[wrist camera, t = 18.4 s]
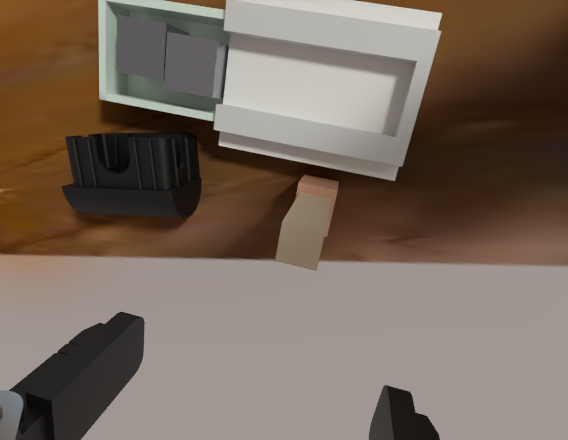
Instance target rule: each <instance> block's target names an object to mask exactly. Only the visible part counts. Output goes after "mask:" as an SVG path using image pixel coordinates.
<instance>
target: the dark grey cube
mask: <svg viewBox="0 0 568 440" xmlns="http://www.w3.org/2000/svg"><path fill="white" fill-rule="evenodd" d="M167 32H171V33H177V34H183V35H189V36H190V34H189V33H187V32H185V31H183V30H181V29H178V28H176V27H174V26H172V25H170V24H168V23H165V22H159V21H153V20H147V19H141V18H134V17H128V16H122V15H117V54H116V72H120V73H126V74H131V75H137V76H142V77H148V78H153V79H159V80H164V78H165V60H166V43H167Z"/></svg>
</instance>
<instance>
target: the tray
mask: <svg viewBox="0 0 568 440" xmlns="http://www.w3.org/2000/svg"><path fill="white" fill-rule="evenodd" d="M225 11H226V10H222V9H215V8H209V7H202V6H195V5H189V4H182V3H176V2H169V1H163V0H99V99H101V100H106V101H111V102H116V103H121V104H126V105H132V106H137V107H142V108H147V109H152V110H157V111H163V112H168V113H173V114H178V115H183V116H188V117H194V118H199V119H204V120H209V121H214V122H215V111H216V104H223V99H218V98H210V97H205V96H199V95H194V94H189V93H184V92H179V91H174V90H168V89H164V80H159V79H153V78H148V77H142V76H137V75H131V74H126V73H120V72H116V54H117V15H122V16H128V17H134V18H141V19H147V20H153V21H159V22H165V23H168V24H170V25H172V26H174V27H176V28H178V29H181V30H183V31H185V32H187V33H189V34H190V36H194V37H200V38H206V39H212V40H217V41H220V42H222V43H224V44H225V45H227V46H229V41H230V34H229V33H227V32H226V31H224V21H225Z"/></svg>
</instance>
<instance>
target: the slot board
mask: <svg viewBox="0 0 568 440" xmlns="http://www.w3.org/2000/svg"><path fill="white" fill-rule="evenodd" d="M441 16H442V13H437V12H430V11H423V10H416V9H409V8H402V7H395V6H388V5H381V4H374V3H367V2H360V1H353V0H227V1H226V11H225V21H224V31H226V32H227V33H229V34H230V41H229V51H228V60H227V70H226V79H225V89H224V98H223V104H216V111H215V122H214V130H217V131H220V136H219V146H223V147H228V148H233V149H238V150H243V151H248V152H253V153H258V154H263V155H268V156H273V157H278V158H283V159H288V160H293V161H298V162H303V163H308V164H313V165H318V166H323V167H328V168H332V169H337V170H342V171H347V172H352V173H357V174H362V175H367V176H372V177H377V178H382V179H387V180H392V181H395V178H396V175H397V171H398V168H399V166H400V167H402V166H403V163H404V159H405V156H406V152H407V149H408V145H409V142H410V138H411V135H412V131H413V128H414V124H415V121H416V117H417V114H418V110H419V107H420V103H421V100H422V96H423V93H424V89H425V86H426V83H427V79H428V76H429V72H430V69H431V65H432V62H433V58H434V55H435V51H436V48H437V44H438V41H439V37H440V34H441V31H438V27H439V23H440V20H441Z"/></svg>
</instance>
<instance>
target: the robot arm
mask: <svg viewBox="0 0 568 440" xmlns="http://www.w3.org/2000/svg"><path fill="white" fill-rule="evenodd" d="M143 348H144V319H143V318H142V317H139V316H135V315H131V314H128V313H124V312H120V313H117V314H116V315H115V316H114V317H113V318H111V320H109V321H108V322H107V323H106V324H102V323H98V324H96V325H94V326H92V327H90V328H87V329H85V330H83V331H82V332H81V333H79V334H78V335H77V336H75V337H74V338H73V339H72V340H71V341H69V343H68V344H66V345H64V346H63V347H62V348H61V349H59V350H58V352H57V353H55V354H53V355H52V356H51V357H50V358H48V359H47V360H46V361H45V362H44V363H42V364H41V365H40V366H39V367H37V368H36V369H35V370H34V371H32V372H31V373H30V374H29V375H28V376H27V377H25V378H24V379H23V380H21V381H20V382H19V383H18V384H17V385H15V386H14V387H13V388H11V389H10V390H9V391H0V440H81V438H82V437H83V436H84V435H85V434H86V432H87V431H88V430H89V429H90V428H91V426H92V425H93V424H94V423H95V422H96V420H97V419H98V418H99V417H100V416H101V414H102V413H103V412H104V411H105V410H106V408H107V407H108V406H109V405H110V404H111V402H112V401H113V400H114V399H115V397H116V396H117V395H118V394H119V393H120V391H121V390H122V389H123V388H124V387H125V385H126V384H127V383H128V382H129V380H130V379H131V378H132V377H133V376H134V375H135V373H136V372H137V370H138V368H139V366H140V364H141V362H142V358H143V350H144V349H143ZM369 440H440V439H439V435H438V433H437V431H436V429H435V428H434V426H433V425H432V423H431V422H430V420H429V418H428V417H427V416H425V415H422V414H418V413H415V409H414V403H413V399H412V395H411V393H410V392H408V391H405V390H401V389H398V388H394V387H390V386H387V385H385V386H384V387H383V389H382V392H381V395H380V398H379V401H378V404H377V407H376V410H375V413H374V416H373V419H372V422H371V426H370V432H369Z"/></svg>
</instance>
